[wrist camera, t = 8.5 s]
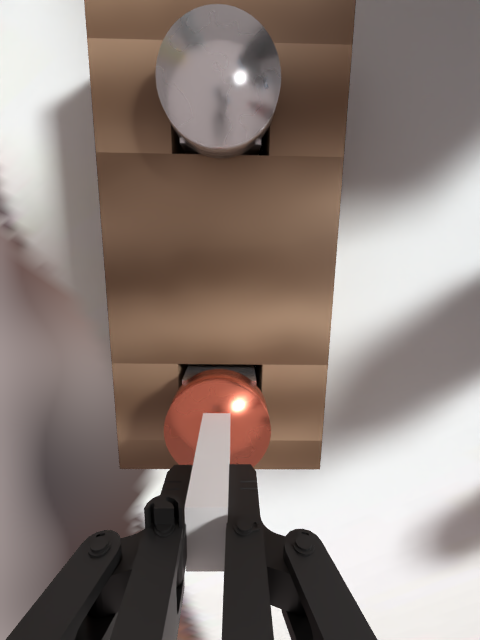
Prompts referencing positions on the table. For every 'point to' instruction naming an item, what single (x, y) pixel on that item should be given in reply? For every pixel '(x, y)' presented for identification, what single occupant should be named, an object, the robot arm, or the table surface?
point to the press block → (220, 226)
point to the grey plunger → (218, 81)
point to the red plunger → (219, 397)
